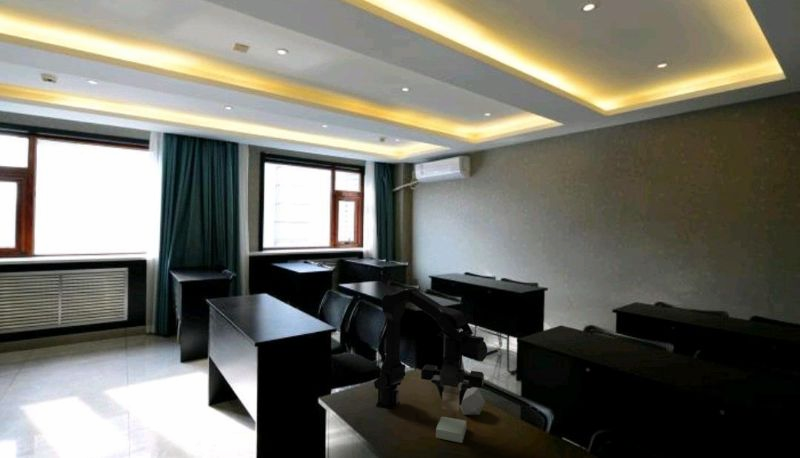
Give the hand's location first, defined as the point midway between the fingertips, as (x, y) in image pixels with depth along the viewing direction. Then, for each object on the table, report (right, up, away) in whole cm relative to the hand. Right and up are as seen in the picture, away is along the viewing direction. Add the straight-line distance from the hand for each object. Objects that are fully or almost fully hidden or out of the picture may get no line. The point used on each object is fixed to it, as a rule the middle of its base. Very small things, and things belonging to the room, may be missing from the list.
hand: (451, 403), depth 116 cm
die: (+8, -10, +13) cm, 18 cm away
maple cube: (0, -1, 0) cm, 1 cm away
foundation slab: (0, -10, 0) cm, 10 cm away
